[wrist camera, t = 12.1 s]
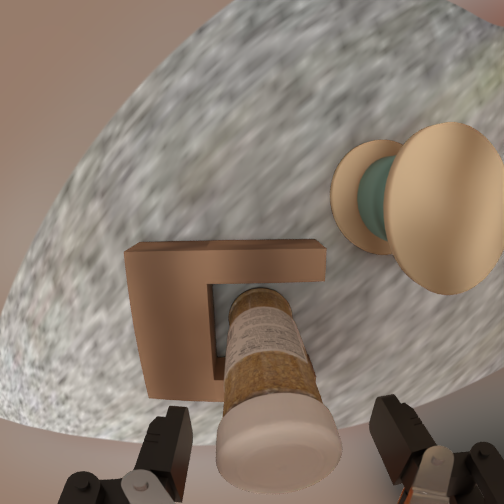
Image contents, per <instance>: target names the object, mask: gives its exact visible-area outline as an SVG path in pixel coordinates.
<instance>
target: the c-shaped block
mask: <svg viewBox="0 0 504 504" xmlns="http://www.w3.org/2000/svg"><path fill="white" fill-rule="evenodd" d="M124 259H125V268H126V276H127V284H128V292H129V299H130V306H131V312H132V318H133V324H134V330H135V336H136V341H137V346H138V351H139V356H140V361H141V366H142V370H143V375H144V379H145V384H146V388H147V392H148V396H149V398H154V399H166V400H182V401H208V402H224V374H225V362H226V357H217V353H216V338H215V323H214V307H213V288H212V284H238V283H285V282H317V281H325V270H326V248H325V247H324V246H323V245H322V244H320V243H319V242H318V241H317V240H315V239H278V240H214V241H166V242H139V243H137V244H136V245H134V246H132V247H131V248H129V249H128V250H126V251H124ZM307 358H308V361H309V364H310V367H311V370H312V372H313V375H314V378H315V382H316V375H315V372H314V369H313V366H312V364H311V361H310V358H309V356H308V354H307Z"/></svg>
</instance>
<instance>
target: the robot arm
mask: <svg viewBox="0 0 504 504" xmlns="http://www.w3.org/2000/svg"><path fill="white" fill-rule="evenodd" d="M369 429H370V433H371V436H372V438H373V440H374V442H375V445H376V447H377V449H378V451H379V454H380V455H381V458H382V460H383V463H384V465H385V467H386V469H387V472H388V474H389V476H390V479H391V481H392V483H393V485H398V484H401V483H403V485H404V489H403V491H402V493H401V495H400V497H399V500H398V502H397V504H448V503H450V504H504V460H503V458H502V457H501V455H500V454H499V452H498V451H497V449H496V448H495V447H494V446H493V445H492V444H490V443H488V442H479V443H476V444H475V445H474V446H473V447H472V449H471V450H470V451H469V452H460V453H452V452H451V451H450V450H449V449H448V448H446V447H443V446H437V445H436V443H435V441H434V440H433V438H432V437H431V435H430V434H429V432H428V431H427V429H426V427H425V426H424V424H422V421H421V420H420V418H418V415H417V414H416V412H415V411H414V409H413V408H411V407H410V406H409V405H407V404H406V403H400V402H399V400H398V399H397V397H396V396H395V395H394V394H391V395H386V396H380V397H377V398H376V401H375V405H374V408H373V412H372V415H371V418H370V422H369ZM192 443H193V432H192V426H191V421H190V416H189V410H188V408H187V407H179V406H169V408H168V411H167V414H166V417H159V416H157V417H156V418H155V419H154V420H153V421H152V422H151V423H150V425H149V428H148V430H147V435H146V436H145V439H144V442H143V445H142V447H141V450H140V453H139V456H138V459H137V462H136V465H135V467H134V469H133V471H130V472H128V473H127V474H126V475H125V476H124V477H123V478H120V479H111V480H99V479H98V478H97V477H96V476H95V475H94V474H92V473H90V472H85V471H82V472H76V473H74V474H72V475H71V476H70V477H69V478H68V479H67V482H66V484H65V486H64V489H63V492H62V494H61V496H60V499H59V501H58V504H175V503H174V502H182V499H183V494H184V488H185V482H186V477H187V471H188V465H189V460H190V454H191V448H192ZM477 485H478V486H477ZM478 487H479V488H478ZM479 489H480V490H481V492H482V494H483V496H484V497H483V496H482V494H481V492H480V490H479Z"/></svg>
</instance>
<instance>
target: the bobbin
mask: <svg viewBox="0 0 504 504" xmlns="http://www.w3.org/2000/svg"><path fill="white" fill-rule="evenodd" d="M330 203H331V209H332V213H333V216H334V219H335V221H336V224H337V226H338V227H339V229H340V231H341V232H342V233H343V234H344V236H345V237H346V238H347V239H348V240H349V241H350V242H352V243H353V244H354V245H356V246H357V247H359V248H361V249H363V250H365V251H367V252H370V253H373V254H378V255H388V254H393V255H394V258H395V260H396V261H397V263H398V264H399V266H400V267H401V269H402V270H403V271H404V272H405V273H406V275H407V276H408V277H410V278H411V279H412V280H413V281H414V282H416V283H418V284H419V285H421V286H422V287H424V288H426V289H427V290H429V291H431V292H434V293H437V294H442V295H454V294H459V293H462V292H465V291H468V290H469V289H471V288H473V287H475V286H476V285H477V284H479V283H480V282H481V281H482V280H483V279H484V278H485V277H486V276H487V275H488V274H489V273H490V272H491V271H492V269H493V268H494V266H495V265H496V263H497V262H498V260H499V258H500V256H501V254H502V252H503V250H504V164H503V162H502V160H501V158H500V156H499V154H498V153H497V151H496V149H495V148H494V147H493V145H492V144H491V143H490V142H489V140H488V139H487V138H486V137H485V136H484V135H482V134H481V133H480V132H478V131H477V130H475V129H474V128H472V127H470V126H468V125H465V124H462V123H456V122H446V123H441V124H436V125H432V126H428V127H426V128H424V129H421V130H420V131H418V132H417V133H415V134H413V135H412V136H411V137H410V138H409V139H408V140H407V141H406V142H405V143H404V145H402V144H400V143H397V142H394V141H390V140H374V141H370V142H367V143H363V144H361V145H359V146H357V147H355V148H354V149H352V150H351V151H350V152H348V153H347V154H346V155H345V156H344V158H343V159H342V160H341V161H340V163H339V164H338V166H337V168H336V170H335V172H334V175H333V178H332V183H331V189H330Z"/></svg>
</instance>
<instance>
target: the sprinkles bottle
mask: <svg viewBox="0 0 504 504" xmlns="http://www.w3.org/2000/svg"><path fill="white" fill-rule="evenodd" d="M229 325H230V329H229V331H228V337H227V349H226V362H225V374H224V408H223V418H222V420H221V422H220V424H219V426H218V430H217V441H216V464H217V468H218V470H219V473H220V474H221V475H222V476H223V478H224V479H225V480H226V481H228V482H229V483H230V484H232V485H233V486H235V487H237V488H239V489H242V490H245V491H248V492H253V493H259V494H284V493H289V492H294V491H298V490H301V489H304V488H307V487H309V486H312V485H314V484H315V483H317V482H319V481H320V480H322V479H324V478H325V477H326V476H328V475H329V474H330V473H331V472H332V471H333V470H334V468H335V467H336V466H337V464H338V462H339V461H340V458H341V455H342V443H341V440H340V436H339V433H338V430H337V428H336V425H335V422H334V419H333V417H332V415H331V413H330V411H329V409H328V408H327V407H326V406H325V405H324V404H323V402H322V399H321V396H320V394H319V391H318V388H317V385H316V382H315V378H314V375H313V372H312V370H311V367H310V364H309V361H308V358H307V353H306V350H305V347H304V344H303V342H302V339H301V336H300V333H299V331H298V328H297V326H296V324H295V322H294V320H293V318H292V311H291V308H290V306H289V303H288V302H287V301H286V299H285V298H284V297H283V296H282V295H280V294H279V293H278V292H276V291H273V290H270V289H265V288H256V289H251V290H249V291H246V292H244V293H243V294H241V295H240V296H239V297H238V298H237V299H236V300H235V301H234V302H233V304H232V306H231V309H230V312H229Z"/></svg>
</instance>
